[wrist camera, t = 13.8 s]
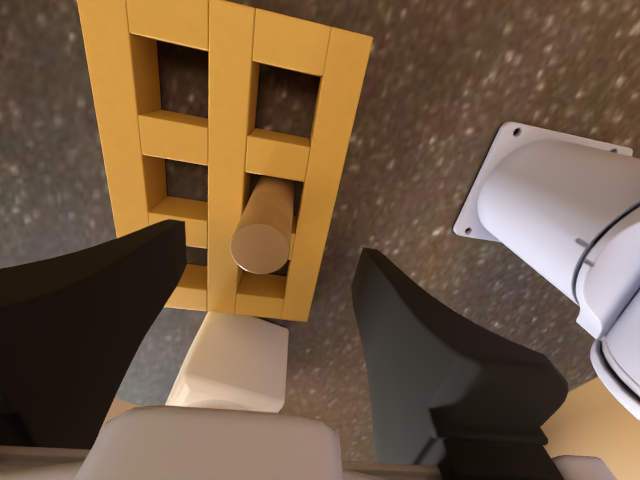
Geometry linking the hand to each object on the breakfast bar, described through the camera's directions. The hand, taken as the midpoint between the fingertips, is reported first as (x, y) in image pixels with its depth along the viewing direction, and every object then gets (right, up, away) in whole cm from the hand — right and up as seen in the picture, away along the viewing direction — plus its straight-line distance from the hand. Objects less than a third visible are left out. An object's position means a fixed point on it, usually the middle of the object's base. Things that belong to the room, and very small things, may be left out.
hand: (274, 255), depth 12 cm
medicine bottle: (-6, -8, +15) cm, 18 cm away
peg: (-1, +4, +8) cm, 9 cm away
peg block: (-4, +5, +7) cm, 9 cm away
